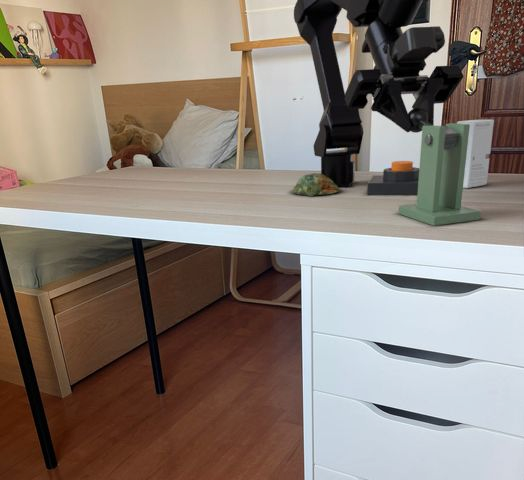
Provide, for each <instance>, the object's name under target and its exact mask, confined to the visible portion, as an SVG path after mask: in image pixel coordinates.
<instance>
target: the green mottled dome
mask: <svg viewBox="0 0 524 480" xmlns="http://www.w3.org/2000/svg"><path fill="white" fill-rule="evenodd" d="M338 192H340V187H338V186H337V185H336V184H335V183H334V182H333V181H332V180H331V179H330V178H328V177H326V176H325V175H323V174H321V173H310V174H305V175H302V176H301V177H300V178H299V179H298V180H297V182H296V184H295V186H294V187H293V188H292V190H291V193H292V194H295V195H299V196H302V195H303V196H308V197H314V196H319V195H322V196H323V195H330V194H331V195H332V194H335V193H338Z"/></svg>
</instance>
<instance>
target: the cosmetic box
mask: <svg viewBox="0 0 524 480" xmlns="http://www.w3.org/2000/svg"><path fill="white" fill-rule="evenodd" d="M456 124H470V128H469V137H468V146H467V155H466V164H465V173H464V182H463V189H470V188H476V187H481V186H486V185H487V183H488V175H489V167H490V158H491V151H492V150H491V149H492V141H493V134H494V126H495V125H494V124H495V120H494V119H469V120H459V121H457V122H456Z"/></svg>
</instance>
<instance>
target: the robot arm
mask: <svg viewBox="0 0 524 480" xmlns="http://www.w3.org/2000/svg"><path fill="white" fill-rule="evenodd" d="M423 1H424V0H297V1H296V2H295V5H294V7H293V20H294V22H295V25H296V28H297V30H298V33H299V34H298V35H299V36H300V37H301V38H302V39H303V40H304V41H305V42H306V44H308V45H309V48H310V52H311V57H312V61H313V66H314V71H315V75H316V80H317V85H318V89H319V90H318V91H319V95H320V99H321V103H322V109H323V113H322V115H321V118H320V120H319V124H318V128H319V130H318V133H317V134H316V135H317V136H316V138H315V141H314V143H313V154H314V157H320V174H323V175H325V176H326V177H328V178H330V179H331V180H332V181H333V182H334V183H335V184H336V185H337V186H338V188H340V187H341V188H342V187H344V188H345V187H351V185H352V184H353V183H354V182H355V179H356V178H355V176H356V174H355V171H356V162H355V160H353V155H359V154H360V152H361V149H362V142H363V136H364V128H363V125H362V123H363V121H362V119H361V115H360V111H359V110H360V109H363V110H364V109H365V108H366V106H367V105H368V102H369V101H368V98H367V97H368V95H371V97H372V100H373V102H372V105H371V107H370V110H371V111H372V112H377V113H379V114H380V115H381V116H383V117H385V118H386V119H388V120H389V121H390V122H393V123H394V124H395V125H396V126H398V127H399V128H400V129H402V130H403V131H405V133H410V132H411V129H412V125H411V121H410V118H409V115H408V113H409V111H408V110H407V107H406V104H405V102H404V99H403V97H402V95H412V96H413V98H414V100H415V101H414V103H413V104H412V106H411V107H412V109H414V108H422V109H424V110H425V111H426V112H427V113H428V116H429V122H430V123H431V124H433V125H434V124H435V122H434V121H435V119H434V118H435V104H444V103H446V102H448V101H449V100H450V98H451V97H452V95H453V93H454V92H455V90H456V89H457V87H458V86H459V84H460V83H461V82H462V80H463V79H464V74H463V72H462V70H461V67H460V65H459V64H454V65H450V64H449V65H436V66H435V67H434V69H433V71H432V73H430V76H429V75H427V74H424V75H423V74H422V75H421V74H420V73H421V72H423V71H424V70H425V68H426V67H427V63H426V61H425V60H426V59H428V58H429V57H430V56H431V55H432V54H436V53H439V51H440V50H441V49H442V48H443V47H444V46H445V44H446V38H445V33H444V31H443V30H442V28H441V26H437V25H435V26H415V27H414V26H413V27H409V28H407V29H406V30H405V31H404V32H403V30H402V28H403V27H404V28H405V27H408V26H410V25H412V23H413V22H414V19H415V18H416V15H417V13H418V11H419V9H420V7H421V5H422V3H423ZM342 9H343V10H345V11H346V19H347V20H348V22H349V23H350V24H351V25H352V27H354V28H366V31H365V33H364V40H363V43H362V45H361V53H362V54H369V53H370V55H371V57H372V61H373V63H374V66H373V68H371V69H369V68H368V69H356V70H355V71H354V73H353V74H352V76H351V79H350V81H349V84H348V86H347V88H346V91H345V87H344V82H343V79H342V74H341V69H340V65H339V60H338V55H337V50H336V47H335V42H334V37H333V34H334V30H335V29H336V25H337V22H338V16H339V15H340V13H341V12H342ZM434 126H435V125H434ZM336 149H337V150H336Z"/></svg>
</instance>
